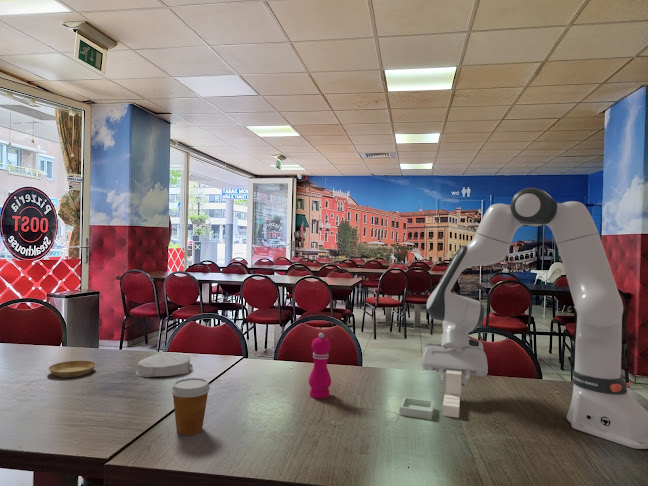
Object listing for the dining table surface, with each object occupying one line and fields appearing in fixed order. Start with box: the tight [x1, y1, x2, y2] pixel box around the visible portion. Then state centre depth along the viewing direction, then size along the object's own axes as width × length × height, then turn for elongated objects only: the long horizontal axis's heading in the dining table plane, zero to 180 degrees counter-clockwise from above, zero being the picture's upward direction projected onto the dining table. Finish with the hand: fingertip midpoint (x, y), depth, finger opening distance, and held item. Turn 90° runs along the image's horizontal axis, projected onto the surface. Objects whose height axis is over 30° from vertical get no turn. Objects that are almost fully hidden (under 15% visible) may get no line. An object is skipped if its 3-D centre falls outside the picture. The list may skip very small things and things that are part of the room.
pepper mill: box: [308, 332, 332, 400], centre depth 140 cm, size 7×7×20 cm
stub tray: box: [398, 396, 435, 420], centre depth 129 cm, size 9×9×2 cm
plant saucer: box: [48, 360, 97, 378], centre depth 156 cm, size 15×15×3 cm
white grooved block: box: [442, 393, 461, 419], centre depth 130 cm, size 10×4×3 cm, turn 162°
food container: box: [135, 352, 194, 379], centre depth 162 cm, size 20×20×7 cm
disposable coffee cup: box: [170, 377, 211, 436], centre depth 112 cm, size 10×10×12 cm
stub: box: [445, 370, 462, 401], centre depth 137 cm, size 4×4×8 cm
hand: (453, 384), depth 137 cm, fingers closed on stub, 4 cm apart
